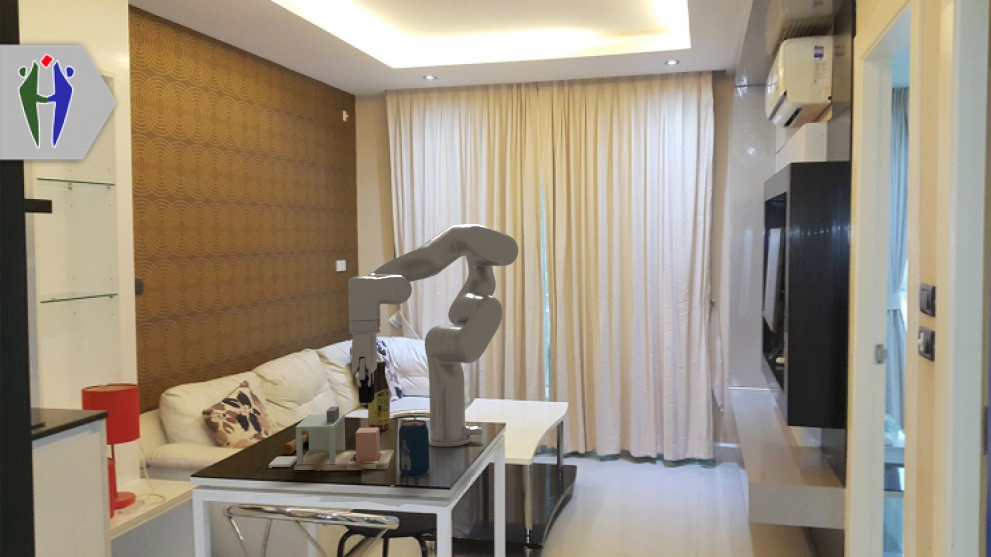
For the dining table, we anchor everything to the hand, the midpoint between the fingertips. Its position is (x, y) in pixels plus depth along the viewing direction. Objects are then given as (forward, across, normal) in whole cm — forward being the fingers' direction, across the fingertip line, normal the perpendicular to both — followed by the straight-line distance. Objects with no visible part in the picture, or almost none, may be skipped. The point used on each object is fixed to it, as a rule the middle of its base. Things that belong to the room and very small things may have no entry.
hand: (366, 400), depth 184 cm
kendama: (+16, -17, -19) cm, 30 cm away
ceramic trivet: (+15, 0, -21) cm, 26 cm away
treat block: (+15, 0, 0) cm, 15 cm away
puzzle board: (+15, 0, -6) cm, 16 cm away
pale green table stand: (+14, 0, -11) cm, 18 cm away
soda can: (+15, +10, +12) cm, 22 cm away
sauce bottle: (+15, -34, -2) cm, 38 cm away
